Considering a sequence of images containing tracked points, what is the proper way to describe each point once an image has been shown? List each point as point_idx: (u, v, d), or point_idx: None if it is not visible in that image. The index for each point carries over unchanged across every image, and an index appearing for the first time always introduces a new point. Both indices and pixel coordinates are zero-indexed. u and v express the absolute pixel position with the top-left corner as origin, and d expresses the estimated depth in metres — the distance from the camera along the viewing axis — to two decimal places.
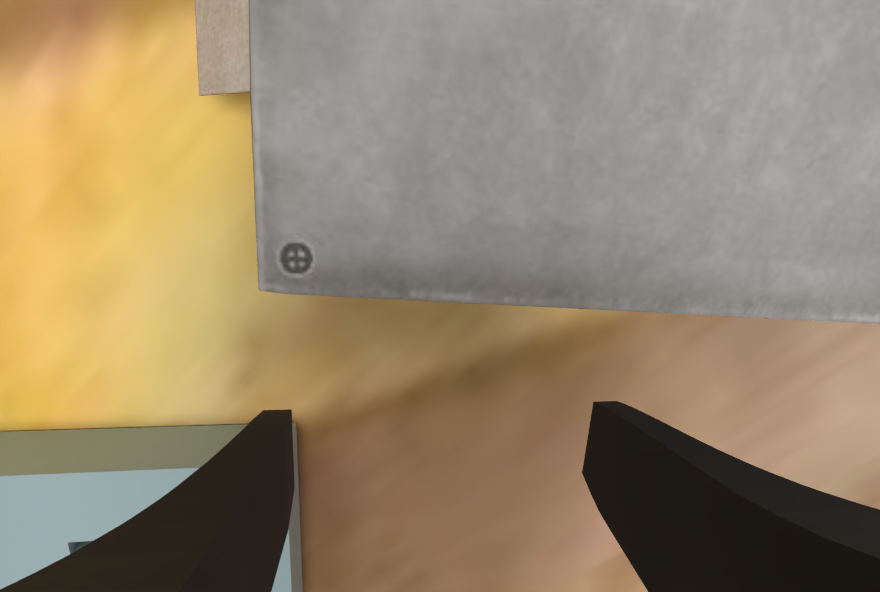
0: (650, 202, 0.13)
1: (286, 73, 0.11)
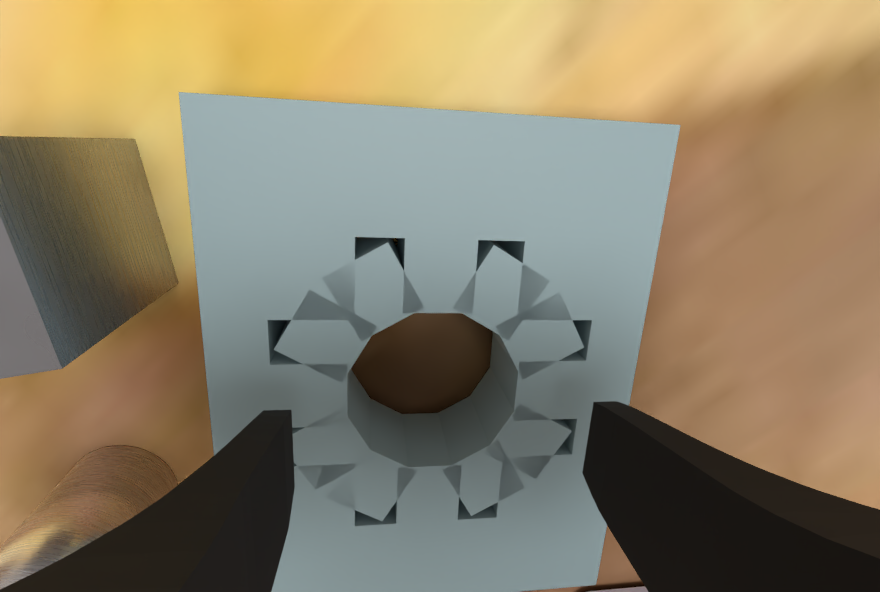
0: None
1: None
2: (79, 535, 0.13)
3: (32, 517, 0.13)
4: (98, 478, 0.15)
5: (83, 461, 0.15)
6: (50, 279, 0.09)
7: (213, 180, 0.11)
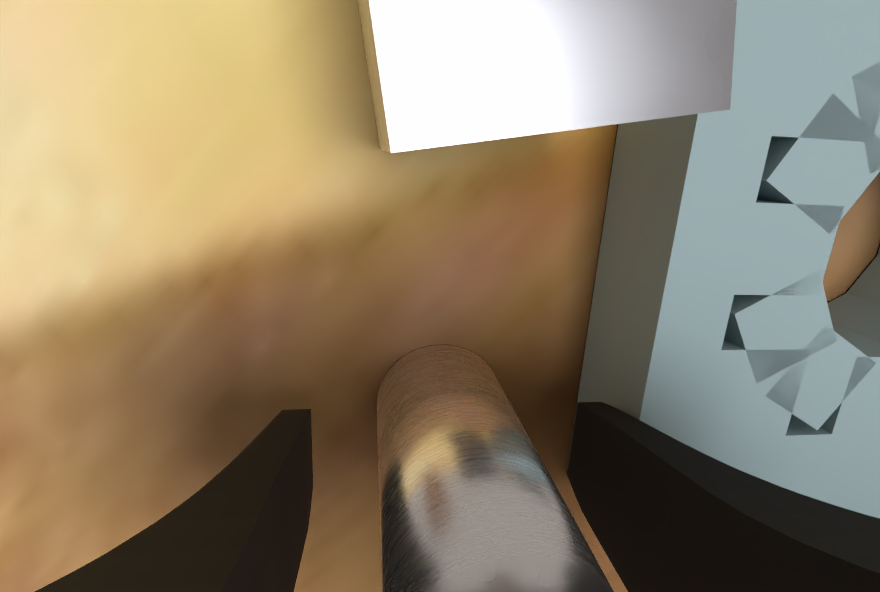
0: None
1: None
2: (508, 428, 0.09)
3: (423, 410, 0.10)
4: (461, 373, 0.11)
5: (414, 359, 0.12)
6: None
7: None
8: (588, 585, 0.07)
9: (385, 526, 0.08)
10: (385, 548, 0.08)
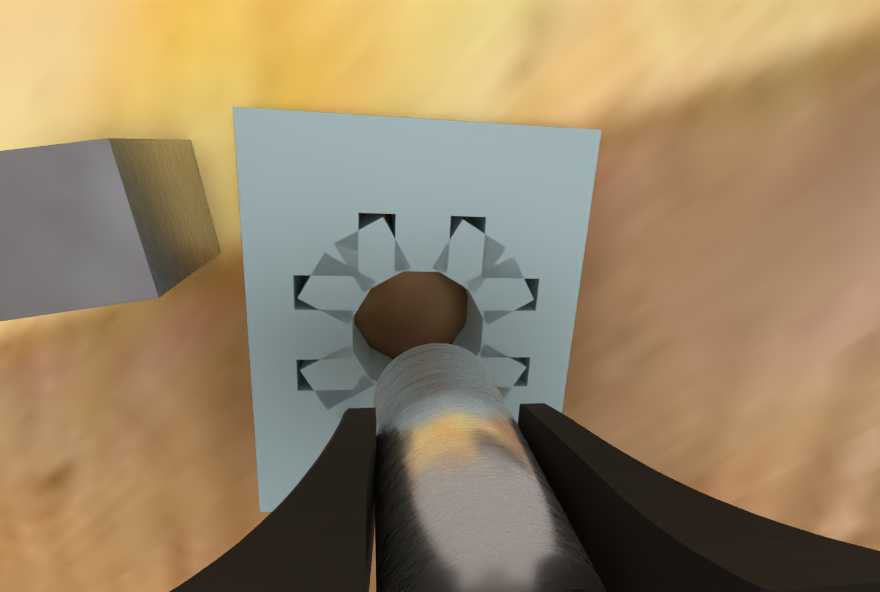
0: None
1: None
2: (507, 427, 0.10)
3: (424, 404, 0.10)
4: (461, 371, 0.11)
5: (415, 356, 0.12)
6: (149, 236, 0.13)
7: (255, 170, 0.15)
8: (583, 582, 0.07)
9: (382, 515, 0.08)
10: (382, 537, 0.08)
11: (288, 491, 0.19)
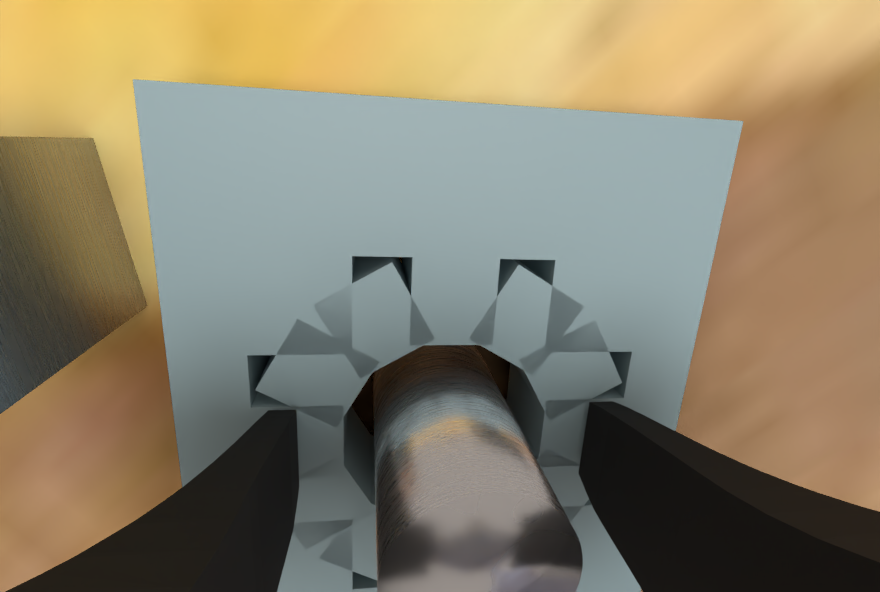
0: None
1: None
2: (493, 400, 0.11)
3: (419, 380, 0.11)
4: (454, 353, 0.13)
5: None
6: None
7: (178, 188, 0.09)
8: (555, 524, 0.08)
9: (381, 474, 0.09)
10: (381, 491, 0.09)
11: None
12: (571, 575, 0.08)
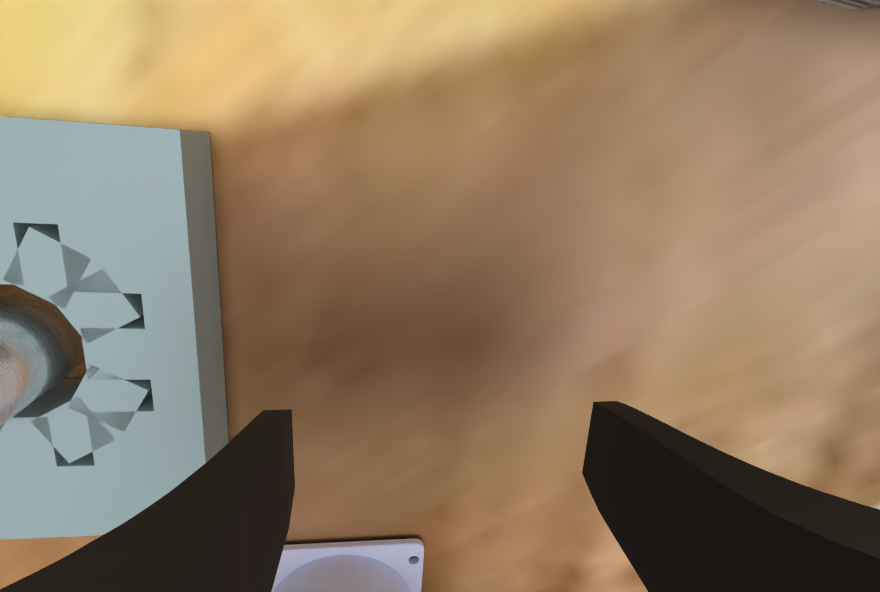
0: None
1: None
2: (11, 321, 0.15)
3: None
4: (35, 295, 0.17)
5: None
6: None
7: None
8: None
9: None
10: None
11: None
12: None
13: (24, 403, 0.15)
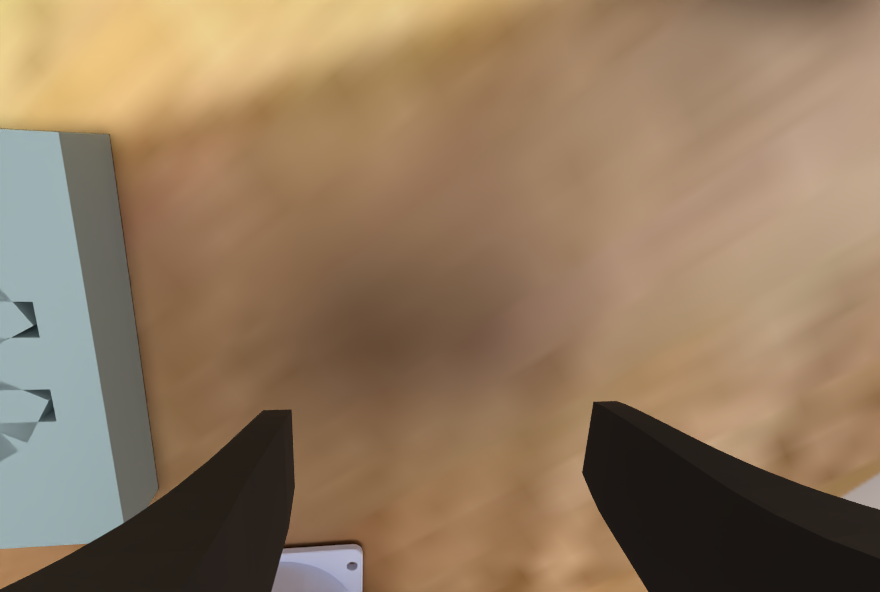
0: None
1: None
2: None
3: None
4: None
5: None
6: None
7: None
8: None
9: None
10: None
11: None
12: None
13: None
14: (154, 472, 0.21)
